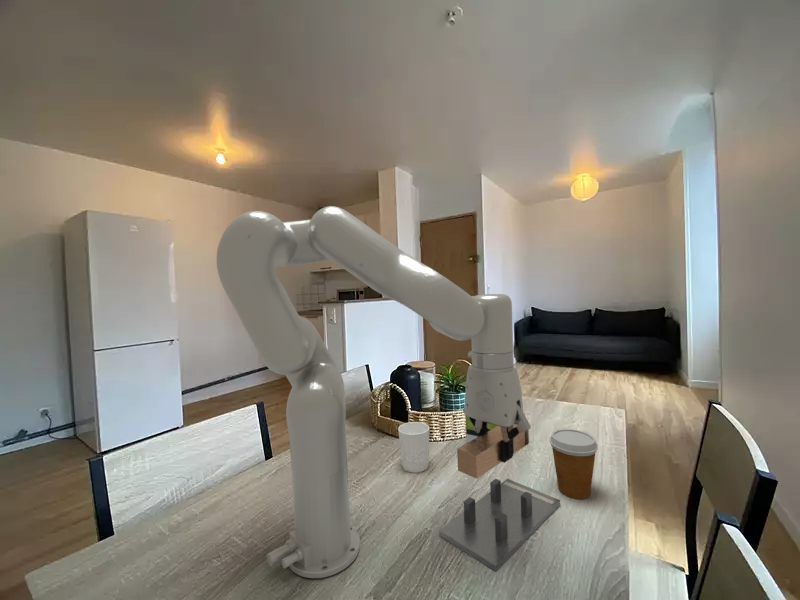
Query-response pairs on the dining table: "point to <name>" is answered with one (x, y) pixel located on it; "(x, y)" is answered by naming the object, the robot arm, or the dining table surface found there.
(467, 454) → the wooden beam
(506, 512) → the plate
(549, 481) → the dining table surface
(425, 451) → the white cup
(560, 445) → the disposable coffee cup
